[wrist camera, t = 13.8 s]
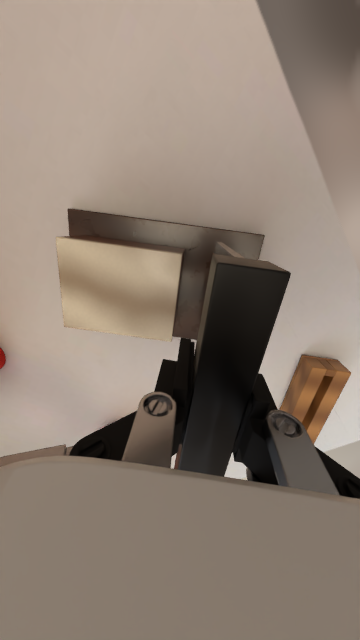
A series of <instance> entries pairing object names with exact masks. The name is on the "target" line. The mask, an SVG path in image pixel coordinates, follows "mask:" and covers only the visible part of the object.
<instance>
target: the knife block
mask: <svg viewBox="0 0 360 640" xmlns="http://www.w3.org/2000/svg"><path fill="white" fill-rule="evenodd" d="M350 375H351V372H350V371H349V370H348V369H347V368H346V367H344V366H343V365H342V364H341V363H340V362H339V361H338V360H335V359H328V358H321V357H313V356H306V355H302V356H301V359H300V361H299V363H298V366H297V368H296V371H295V373H294V376H293V378H292V381H291V383H290V386H289V388H288V391H287V393H286V396H285V398H284V400H283V403H282V405H281V408H280V410H281V411H285V412H287V413H290V414H292V415H293V416H294V417H296V418H297V419H298V420H299V421H300V422H301V423H302V424H303V426H304V427H305V429H306V431H307V433H308V435H309V437H310V439H311V441H312V442H313V444H314V442H315V441H316V439H317V437H318V435H319V433H320V431H321V429H322V427H323V425H324V424H325V422H326V420H327V418H328V416H329V414H330V412H331V410H332V409H333V407H334V405H335V403H336V401H337V399H338V397H339V395H340V393H341V392H342V390H343V388H344V386H345V384H346V382H347V380H348V378H349V376H350Z"/></svg>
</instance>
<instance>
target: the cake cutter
mask: <svg viewBox="0 0 360 640" xmlns="http://www.w3.org/2000/svg"><path fill="white" fill-rule="evenodd" d="M290 275H291V273H290V272H288V271H286V270H284V269H282V268H280V267H278V266H276V265H274V264H272V263H270V262H268V261H261V260H254V259H246V258H244V257H243V256H241V255H240V254H238V253H237V252H235V251H234V250H232V249H231V248H229V247H228V246H226V245H225V244H223V243H222V242H216V247H215V252H214V254H213V255H212V260H211V265H210V271H209V276H208V282H207V288H206V293H205V299H204V304H203V310H202V315H201V321H200V327H199V332H198V338H197V343H196V349H195V354H194V360H193V382H192V394H191V400H190V405H189V411H188V416H187V421H186V426H185V432H184V437H183V442H182V444H179V449H178V452H177V455H176V460H175V466H174V469H177V470H184V471H190V472H197V473H203V474H210V475H216V476H222V477H224V475H225V472H226V469H227V466H228V463H229V460H230V457H231V454H232V451H233V448H234V445H235V441H236V438H237V435H238V432H239V429H240V426H241V423H242V420H243V417H244V414H245V411H246V408H247V405H248V402H249V399H250V396H251V393H252V390H253V387H254V384H255V381H256V378H257V375H258V372H259V369H260V366H261V363H262V360H263V357H264V354H265V351H266V348H267V345H268V342H269V339H270V336H271V333H272V330H273V327H274V324H275V321H276V318H277V315H278V312H279V309H280V306H281V303H282V300H283V296H284V293H285V290H286V287H287V284H288V281H289V278H290Z"/></svg>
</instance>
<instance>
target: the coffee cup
mask: <svg viewBox="0 0 360 640" xmlns="http://www.w3.org/2000/svg"><path fill="white" fill-rule="evenodd" d="M5 361H6V358H5V354H4V352H3V350H2V349H1V348H0V369H1V368H2V367H3V366H4V364H5Z"/></svg>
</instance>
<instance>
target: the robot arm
mask: <svg viewBox="0 0 360 640" xmlns="http://www.w3.org/2000/svg"><path fill="white" fill-rule="evenodd" d="M193 360H194V342H191V339H186V338H181V341H180V347H179V354H178V361H171V360H165V359H163V361H162V365H161V369H160V372H159V376H158V380H157V384H156V388H155V391H154V392H152V393H149V394H147V395H145V396H144V397H143V398H142V399H141V401H140V404H139V407H138V410H137V411H135V412H133V413H131V414H129V415H127V416H125V417H123V418H121V419H119V420H118V421H116V422H114V423H112V424H110V425H108V426H106V427H104V428H102V429H100V430H98V431H96V432H94V433H92V434H90V435H88V436H86V437H84V438H82V439H81V440H79V441H78V442H77V443H76V444H75V445H74V446H71V447H66V444H65V445H59V446H54V447H49V448H44V449H39V450H34V451H29V452H23V453H18V454H13V455H8V456H3V457H0V640H360V479H359V478H358V477H356V476H355V475H353V474H352V473H351V472H349V471H348V470H346V469H345V468H344V467H342V466H341V465H340V464H338V463H337V462H336V461H334V460H333V459H331V458H330V457H329V456H327V455H326V454H325V453H323V452H322V451H320V450H319V449H318V448H316V447H315V446H314V444H313V442H312V441H311V439H310V437H309V435H308V433H307V431H306V429H305V427H304V426H303V424H302V423H301V422H300V421H299V420H298V419H297V418H296V417H294V416H293V415H292V414H290V413H287V412H285V411H281V410H278V409H277V407H276V405H275V402H274V400H273V398H272V396H271V393H270V391H269V389H268V386H267V384H266V382H265V379H264V377H263V375H262V374H258V375H257V378H256V381H255V384H254V387H253V390H252V393H251V396H250V399H249V402H248V405H247V408H246V411H245V414H244V417H243V420H242V423H241V426H240V429H239V432H238V435H237V438H236V441H235V445H234V448H233V451H232V452H233V455H234V461H236V462H242V463H243V464H244V465H245V466H246V467H247V468H246V474H247V479H248V481H247V480H241V479H235V478H228V477H222V476H216V475H210V474H203V473H197V472H190V471H184V470H177V469H171V468H170V467H171V457H172V456H173V455H174V454H176V453H177V452H178V449H179V444H182V442H183V437H184V432H185V426H186V421H187V416H188V411H189V405H190V400H191V394H192V382H193Z"/></svg>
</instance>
